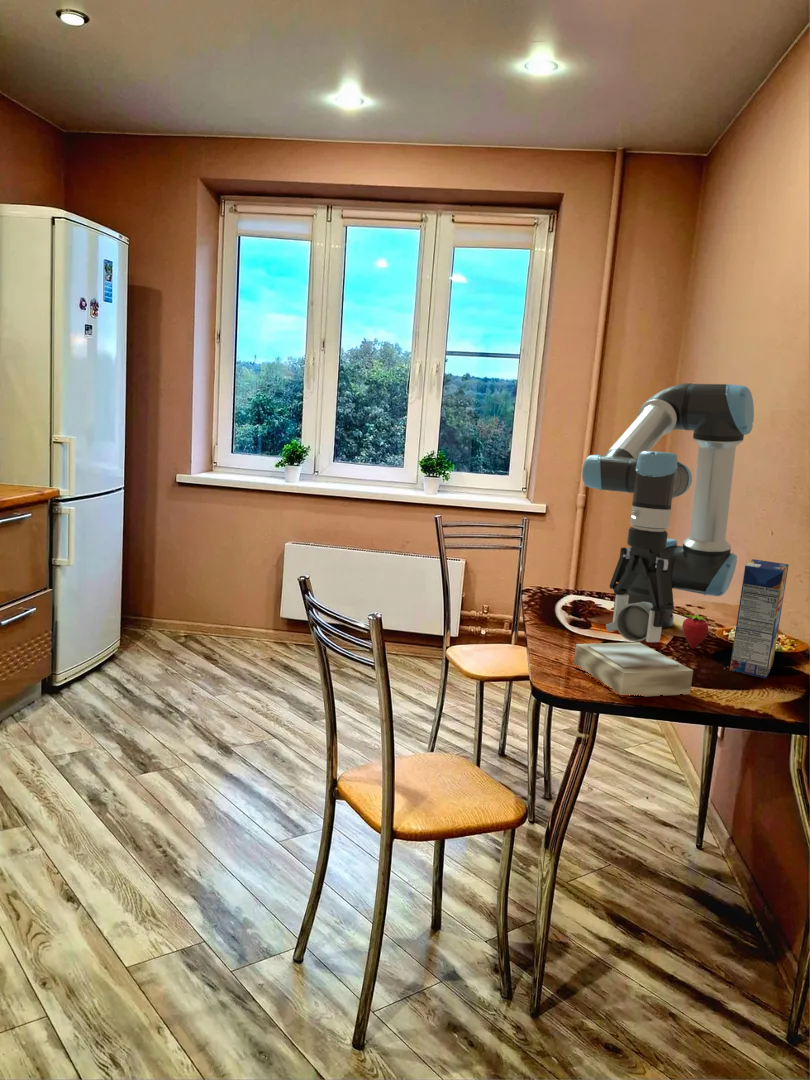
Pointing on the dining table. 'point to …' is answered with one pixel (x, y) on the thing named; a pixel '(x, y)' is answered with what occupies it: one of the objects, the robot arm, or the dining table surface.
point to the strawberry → (694, 630)
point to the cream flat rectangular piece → (634, 669)
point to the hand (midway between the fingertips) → (635, 632)
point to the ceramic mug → (632, 621)
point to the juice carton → (758, 617)
